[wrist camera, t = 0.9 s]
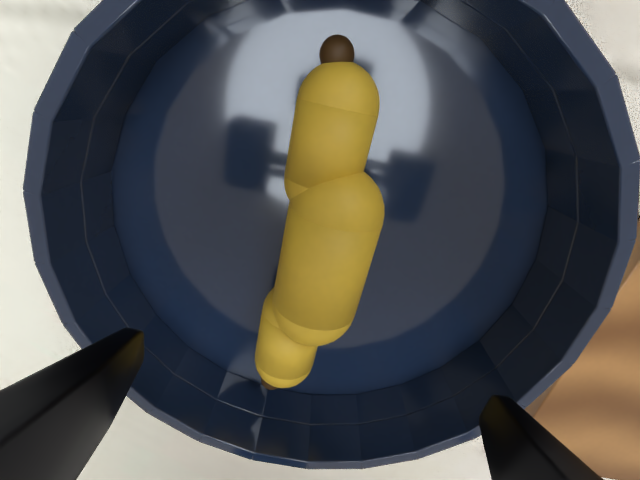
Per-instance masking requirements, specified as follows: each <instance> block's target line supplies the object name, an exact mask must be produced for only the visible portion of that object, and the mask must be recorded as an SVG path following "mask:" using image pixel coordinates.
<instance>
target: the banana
mask: <svg viewBox="0 0 640 480" xmlns="http://www.w3.org/2000/svg"><path fill="white" fill-rule="evenodd" d="M319 57H320V62H321V65H319V66H317V67H316V68H314V69H313V70H312V71H311V72H310V73H309V74H308V75H307V77H306V78H305V79H304V81H303V83H302V85H301V87H300V89H299V93H298V97H297V101H296V107H295V113H294V119H293V125H292V132H291V138H290V144H289V150H288V156H287V162H286V168H285V174H284V186H285V191H286V194H287V197H288V199H289V200H290V202H289V207H288V213H287V218H286V224H285V230H284V235H283V241H282V247H281V252H280V258H279V264H278V269H277V275H276V281H275V286H274V288H273V289H272V290H271V291H270V292H269V293H268V295H267V297H266V298H265V300H264V304H263V308H262V314H261V320H260V326H259V332H258V338H257V344H256V350H255V365H256V368H257V371H258V373H259V375H260V376H261V382H262V385H263V386H264V387H265V388H266V389H269V390H275V389H277V388H289V387H293V386H296V385H298V384H299V383H301V382H302V381H303V380H304V379H305V378H306V377H307V376H308V374H309V373H310V371H311V369H312V366H313V363H314V359H315V356H316V352H317V348H318V346H322V345H326V344H329V343H331V342H334V341H335V340H337V339H338V338H340V337H341V336H342V335H343V334H344V333H345V332H346V331H347V330H348V328H349V327H350V326H351V323H352V321H353V319H354V317H355V314H356V311H357V307H358V304H359V301H360V298H361V294H362V291H363V288H364V284H365V281H366V278H367V275H368V271H369V268H370V265H371V262H372V258H373V255H374V252H375V249H376V245H377V242H378V239H379V235H380V232H381V229H382V226H383V221H384V202H383V198H382V194H381V192H380V190H379V188H378V186H377V185H376V183H375V182H374V181H373V179H372V178H371V177H370V176H369V175H367V174H366V173H365V172H364V169H365V165H366V161H367V157H368V153H369V149H370V146H371V142H372V138H373V134H374V130H375V127H376V123H377V119H378V114H379V108H380V100H379V94H378V89H377V87H376V84H375V82H374V80H373V79H372V77H371V76H370V74H369V73H368V72H367V71H366V70H364V69H363V68H362V67H361V66H359V65H357V64H356V63H353V61H354V47H353V45H352V43H351V41H350V40H349V39H348V38H347V37H345V36H343V35H339V34H336V35H332V36H330V37H328V38H327V39H326V40H325V41H324V42H323V44H322V46H321V48H320V53H319Z"/></svg>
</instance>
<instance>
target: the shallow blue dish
mask: <svg viewBox="0 0 640 480" xmlns="http://www.w3.org/2000/svg"><path fill="white" fill-rule="evenodd" d="M336 34H339V35H343V36H345V37H347V38H348V39H349V40H350V41H351V43H352V45H353V47H354V61H353V63H356V64H357V65H359V66H361V67H362V68H363V69H364V70H366V71H367V72H368V73H369V74H370V76H371V77H372V79H373V80H374V82H375V84H376V87H377V89H378V94H379V100H380V108H379V114H378V119H377V123H376V127H375V130H374V134H373V138H372V142H371V146H370V149H369V153H368V157H367V161H366V165H365V169H364V172H365V173H366V174H367V175H369V176H370V177H371V178H372V179H373V181H374V182H375V183H376V185H377V186H378V188H379V190H380V192H381V194H382V198H383V202H384V221H383V226H382V229H381V232H380V235H379V239H378V242H377V245H376V249H375V252H374V255H373V258H372V262H371V265H370V268H369V271H368V275H367V278H366V281H365V284H364V288H363V291H362V294H361V298H360V301H359V304H358V307H357V311H356V314H355V317H354V319H353V321H352V323H351V326H350V327H349V328H348V330H347V331H346V332H345V333H344V334H343V335H342V336H341V337H340V338H338V339H337V340H335V341H334V342H331V343H329V344H326V345H322V346H318V348H317V352H316V356H315V359H314V363H313V366H312V369H311V371H310V373H309V374H308V376H307V377H306V378H305V379H304V380H303V381H302V382H301V383H299V384H298V385H296V386H293V387H289V388H277V389H275V390H269V389H266V388H265V387H264V386H263V385H262V382H261V376H260V375H259V373H258V371H257V368H256V365H255V350H256V344H257V338H258V332H259V326H260V320H261V314H262V308H263V304H264V300H265V298H266V297H267V295H268V293H269V292H270V291H271V290H272V289H273V288H274V286H275V281H276V275H277V269H278V264H279V258H280V252H281V247H282V241H283V235H284V230H285V224H286V218H287V213H288V207H289V202H290V200H289V199H288V197H287V194H286V191H285V186H284V174H285V168H286V162H287V156H288V150H289V144H290V138H291V132H292V125H293V119H294V113H295V107H296V101H297V97H298V93H299V89H300V87H301V85H302V83H303V81H304V79H305V78H306V77H307V75H308V74H309V73H310V72H311V71H312V70H313V69H314V68H316V67H317V66H319V65H321V62H320V57H319V53H320V48H321V46H322V44H323V42H324V41H325V40H326V39H327V38H328V37H330V36H332V35H336ZM615 74H616V73H615V71H614V70H613V68H612V67H611V65H610V64H609V62H608V61H607V60H606V58H605V57H604V55H603V54H602V53H601V51H600V50H599V48H598V47H597V45H596V44H595V43H594V41H593V40H592V38H591V37H590V36H589V34H588V33H587V31H586V30H585V29H584V27H583V26H582V24H581V23H580V21H579V20H578V19H577V17H576V16H575V14H574V13H573V12H572V10H571V9H570V7H569V6H568V4H567V3H566V2H565V0H102V1H101V2H100V3H99V4H98V5H97V6H96V7H95V8H94V9H93V10H92V11H91V12H90V13H89V14H88V15H87V16H86V17H85V18H84V19H83V20H82V21H81V22H80V23H79V24H78V25H77V26H76V27H75V28H74V31H72V32H71V34H70V36H69V38H68V40H67V42H66V44H65V46H64V49H63V51H62V53H61V55H60V57H59V59H58V61H57V63H56V65H55V67H54V69H53V71H52V73H51V75H50V77H49V79H48V81H47V84H46V86H45V88H44V90H43V92H42V94H41V96H40V98H39V100H38V102H37V104H36V106H35V108H34V112H33V116H32V123H31V131H30V138H29V146H28V154H27V161H26V169H25V176H24V184H23V190H24V191H23V196H24V202H25V208H26V214H27V220H28V226H29V232H30V238H31V244H32V251H33V257H34V261H35V262H36V263H35V265H36V267H37V269H38V272H39V274H40V276H41V278H42V280H43V283H44V285H45V287H46V289H47V291H48V294H49V296H50V298H51V300H52V302H53V305H54V307H55V309H56V311H57V313H58V316H59V318H60V320H61V322H62V324H63V326H64V327H65V328H66V329H67V331H68V332H69V333H70V335H71V336H72V337H73V338H74V340H75V341H76V342H77V344H78V345H79V346H80V348H81V349H83V348H85V347H87V346H89V345H91V344H93V343H95V342H97V341H99V340H101V339H103V338H105V337H107V336H109V335H111V334H113V333H115V332H117V331H119V330H121V329H123V328H134V329H139V330H142V331H143V333H144V360H143V363H142V365H141V367H140V369H139V371H138V373H137V375H136V377H135V379H134V381H133V383H132V385H131V387H130V389H129V391H128V393H127V395H126V396H127V397H128V398H130V399H131V400H132V401H133V402H134V403H136V404H137V405H138V406H139V407H140V408H142V409H143V410H144V411H145V412H146V413H148V414H150V415H152V416H153V417H155V418H157V419H159V420H161V421H162V422H164V423H166V424H168V425H170V426H171V427H173V428H175V429H177V430H178V431H180V432H182V433H184V434H186V435H187V436H189V437H191V438H193V439H195V440H196V441H199V442H201V443H204V444H207V445H210V446H213V447H216V448H218V449H221V450H224V451H227V452H230V453H233V454H236V455H239V456H242V457H245V458H248V459H252V460H255V461H261V462H267V463H273V464H279V465H286V466H292V467H298V468H304V469H363V468H364V469H365V468H371V467H376V466H382V465H388V464H394V463H399V462H405V461H411V460H416V459H419V458H423V457H426V456H429V455H431V454H434V453H437V452H440V451H442V450H445V449H448V448H451V447H453V446H456V445H459V444H462V443H464V442H467V441H470V440H473V438H474V439H475V438H477V437H479V436H480V435H481V431H480V426H479V417H480V414H481V412H482V410H483V409H484V407H485V405H486V403H487V402H488V400H489V398H490V397H491V396H492V395H494V394H497V395H502V396H507V397H510V398H511V399H513V400H514V401H515V402H516V403H517V404H518V405H519V406H521V407H522V408H523V409H526V407H528V406H529V405H530V404H531V403H532V402H533V401H535V400H536V399H537V398H538V397H539V396H540V395H541V394H542V393H543V392H544V391H545V390H547V389H548V388H549V387H550V386H551V385H552V384H553V383H554V382H555V381H556V380H557V379H559V378H560V377H561V376H562V375H563V374H564V373H565V372H566V371H567V370H568V369H570V368H571V367H572V365H573V364H574V363H575V362H576V361H577V359H578V358H579V356H580V355H581V353H582V352H583V350H584V349H585V347H586V346H587V345H588V343H589V342H590V340H591V339H592V337H593V336H594V334H595V333H596V331H597V330H598V328H599V327H600V326H601V324H602V323H603V321H604V320H605V318H606V317H607V315H608V314H609V312H610V311H611V308H612V307H613V305H614V302H615V299H616V296H617V293H618V291H619V288H620V285H621V282H622V279H623V276H624V274H625V271H626V268H627V265H628V262H629V260H630V257H631V254H632V251H633V248H634V246H635V243H636V240H635V239H636V238H637V224H638V204H639V184H640V155H639V151H638V147H637V144H636V140H635V137H634V133H633V130H632V126H631V122H630V119H629V115H628V112H627V108H626V104H625V101H624V97H623V94H622V90H621V87H620V83H619V79H618V76H617V75H615Z"/></svg>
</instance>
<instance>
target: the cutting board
mask: <svg viewBox="0 0 640 480" xmlns="http://www.w3.org/2000/svg"><path fill="white" fill-rule="evenodd" d="M635 240H636V243H635V246H634V248H633V251H632V254H631V257H630V260H629V262H628V265H627V268H626V271H625V274H624V276H623V279H622V282H621V285H620V288H619V291H618V293H617V296H616V299H615V302H614V305H613V307H612V308H611V311H610V312H609V314H608V315H607V317H606V318H605V320H604V321H603V323H602V324H601V326H600V327H599V328H598V330H597V331H596V333H595V334H594V336H593V337H592V339H591V340H590V342H589V343H588V345H587V346H586V347H585V349H584V350H583V352H582V353H581V355H580V356H579V358H578V359H577V361H576V362H575V363H574V364H573V365H572V367H571V368H570V369H568V370H567V371H566V372H565V373H564V374H563V375H562V376H561V377H560V378H559V379H557V380H556V381H555V382H554V383H553V384H552V385H551V386H550V387H549V388H548V389H547V390H545V391H544V392H543V393H542V394H541V395H540V396H539V397H538V398H537V399H536V400H535V401H533V402H532V403H531V404H530V405H529V406H528V407H526V409H524V410H525V411H526V412H527V413H529V414H530V415H531V416H532V417H533V418H534V419H535V420H536V421H538V422H539V423H540V424H541V425H542V426H543V427H544V428H546V429H547V430H548V431H549V432H550V433H551V434H552V435H553V436H555V437H556V438H557V439H558V440H559V441H560V442H561V443H563V444H564V445H565V446H566V447H567V448H568V449H569V450H570V451H572V452H573V453H574V454H575V455H576V456H577V457H578V458H580V459H581V460H582V461H583V462H584V463H585V464H586V465H587V466H589V467H590V468H591V469H592V470H593V471H594V472H595V473H596V474H598V475H599V476H600V477H604V478H609V479H615V480H640V218H639V220H638V224H637V238H636V239H635Z"/></svg>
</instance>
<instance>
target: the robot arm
mask: <svg viewBox="0 0 640 480" xmlns="http://www.w3.org/2000/svg"><path fill="white" fill-rule="evenodd" d="M143 360H144V333H143V331H142V330H139V329H134V328H123V329H121V330H119V331H117V332H115V333H113V334H111V335H109V336H107V337H105V338H103V339H101V340H99V341H97V342H95V343H93V344H91V345H89V346H87V347H85V348H83V349H81V350H79V351H77V352H75V353H73V354H72V355H70V356H68V357H66V358H64V359H62V360H60V361H58V362H56V363H54V364H52V365H50V366H48V367H46V368H44V369H42V370H40V371H38V372H36V373H34V374H32V375H30V376H28V377H26V378H24V379H22V380H20V381H18V382H16V383H14V384H12V385H10V386H8V387H6V388H4V389H2V390H0V480H76V479H77V477H78V476H79V474H80V473H81V471H82V470H83V468H84V467H85V465H86V463H87V462H88V460H89V459H90V457H91V456H92V454H93V453H94V451H95V449H96V448H97V446H98V445H99V443H100V442H101V440H102V439H103V437H104V435H105V434H106V432H107V430H108V429H109V427H110V426H111V424H112V422H113V420H114V418H115V416H116V414H117V412H118V410H119V408H120V406H121V405H122V403H123V401H124V399H125V397H126V395H127V393H128V391H129V389H130V387H131V385H132V383H133V381H134V379H135V377H136V375H137V373H138V371H139V369H140V367H141V365H142V363H143ZM479 426H480V431H481V435H482V439H483V444H484V448H485V452H486V457H487V461H488V465H489V470H490V474H491V478H492V480H603V479H602V478H601V477H600V476H599V475H598V474H596V473H595V472H594V471H593V470H592V469H591V468H590V467H589V466H587V465H586V464H585V463H584V462H583V461H582V460H581V459H580V458H578V457H577V456H576V455H575V454H574V453H573V452H572V451H570V450H569V449H568V448H567V447H566V446H565V445H564V444H563V443H561V442H560V441H559V440H558V439H557V438H556V437H555V436H553V435H552V434H551V433H550V432H549V431H548V430H547V429H546V428H544V427H543V426H542V425H541V424H540V423H539V422H538V421H536V420H535V419H534V418H533V417H532V416H531V415H530V414H529V413H527V412H526V411H525V410H524V409H523V408H522V407H521V406H519V405H518V404H517V403H516V402H515V401H514V400H513V399H511V398H510V397H507V396H502V395H497V394H494V395H492V396H491V397H490V398H489V400H488V402H487V403H486V405H485V407H484V409H483V410H482V412H481V414H480V417H479Z"/></svg>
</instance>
